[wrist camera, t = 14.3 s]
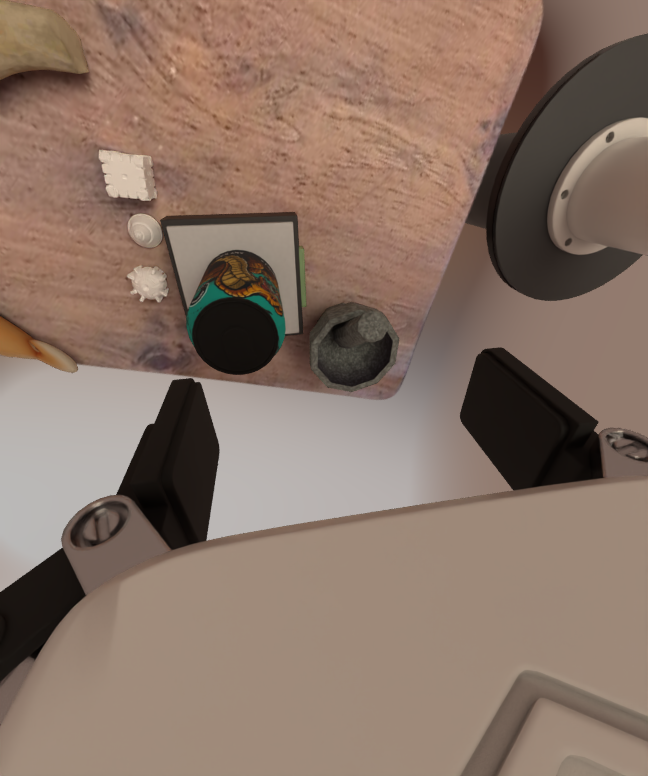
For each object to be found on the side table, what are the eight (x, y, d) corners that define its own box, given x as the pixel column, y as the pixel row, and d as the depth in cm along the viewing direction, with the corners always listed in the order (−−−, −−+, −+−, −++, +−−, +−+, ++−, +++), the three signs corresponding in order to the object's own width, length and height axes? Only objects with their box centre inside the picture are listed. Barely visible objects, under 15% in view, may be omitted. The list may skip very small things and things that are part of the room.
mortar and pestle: (373, 359, 43) (407, 416, 33) (303, 364, 42) (318, 425, 32) (384, 274, 37) (430, 313, 27) (302, 276, 35) (320, 318, 26)
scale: (300, 211, 32) (304, 215, 29) (305, 325, 39) (308, 336, 36) (166, 215, 30) (158, 220, 27) (196, 333, 37) (192, 346, 34)
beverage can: (270, 242, 30) (277, 280, 20) (283, 313, 34) (295, 372, 24) (193, 254, 29) (163, 299, 20) (216, 324, 33) (201, 390, 24)
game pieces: (110, 150, 27) (95, 149, 24) (154, 156, 27) (143, 155, 25) (139, 293, 33) (129, 304, 31) (173, 295, 34) (167, 306, 31)
